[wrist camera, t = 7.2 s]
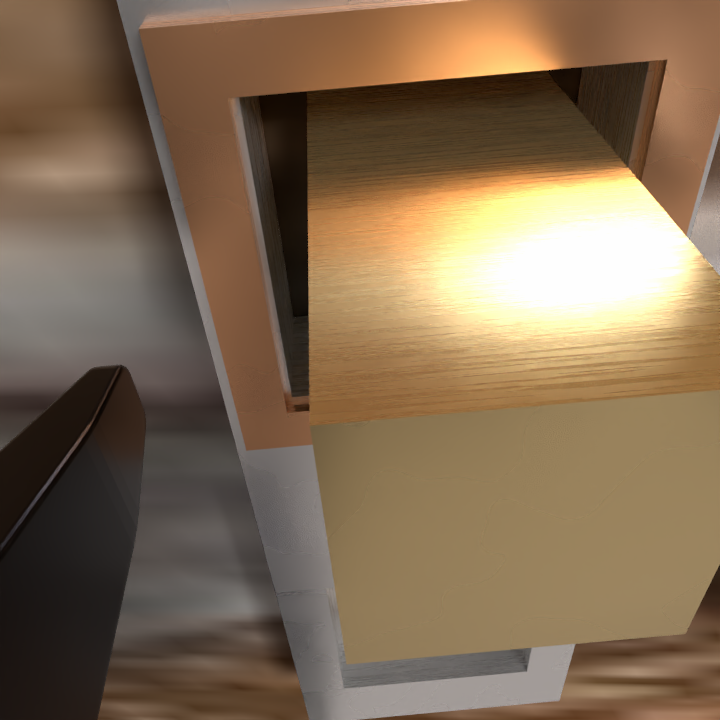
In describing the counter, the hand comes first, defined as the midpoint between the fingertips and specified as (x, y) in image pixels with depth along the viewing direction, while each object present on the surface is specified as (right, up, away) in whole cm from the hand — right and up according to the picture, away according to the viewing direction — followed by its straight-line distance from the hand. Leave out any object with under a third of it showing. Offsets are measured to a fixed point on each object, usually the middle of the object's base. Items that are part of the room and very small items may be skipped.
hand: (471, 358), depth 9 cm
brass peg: (0, +3, +4) cm, 5 cm away
